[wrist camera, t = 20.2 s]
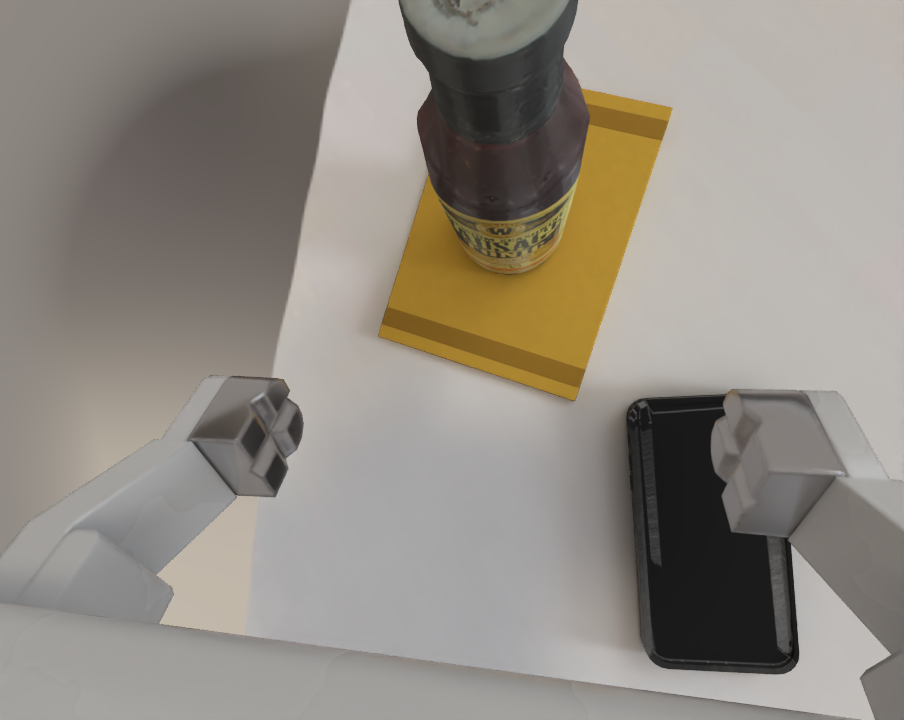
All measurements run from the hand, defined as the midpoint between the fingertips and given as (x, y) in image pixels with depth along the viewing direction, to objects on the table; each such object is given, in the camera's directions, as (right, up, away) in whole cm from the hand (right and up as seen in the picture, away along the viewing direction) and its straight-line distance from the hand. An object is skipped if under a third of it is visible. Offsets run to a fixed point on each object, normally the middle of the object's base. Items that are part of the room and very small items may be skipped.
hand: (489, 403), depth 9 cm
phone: (+14, -9, +19) cm, 25 cm away
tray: (+3, +9, +21) cm, 23 cm away
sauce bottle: (+3, +9, +21) cm, 23 cm away
